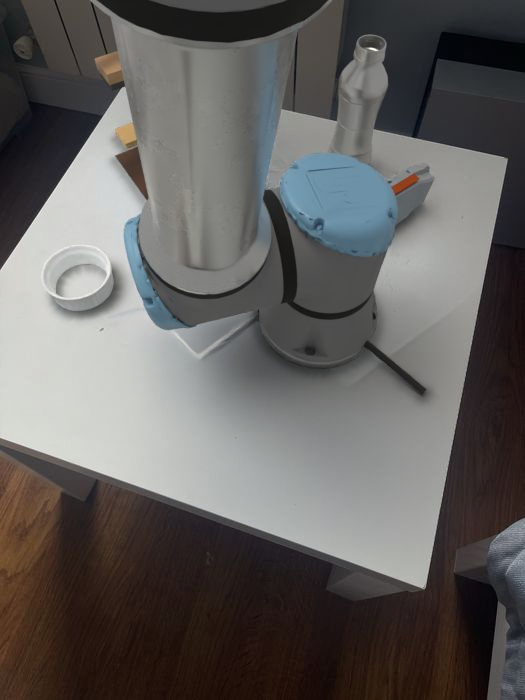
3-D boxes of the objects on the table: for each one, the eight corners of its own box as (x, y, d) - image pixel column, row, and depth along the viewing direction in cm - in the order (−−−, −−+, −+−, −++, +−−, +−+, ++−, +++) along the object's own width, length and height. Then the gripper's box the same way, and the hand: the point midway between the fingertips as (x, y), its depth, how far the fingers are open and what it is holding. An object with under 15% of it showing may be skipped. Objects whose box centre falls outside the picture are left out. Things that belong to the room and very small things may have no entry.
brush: (192, 64, 74) (182, -29, 64) (111, 92, 70) (88, -1, 60) (178, 49, 75) (167, -44, 65) (98, 76, 72) (74, -17, 62)
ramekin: (51, 323, 70) (40, 304, 66) (50, 268, 74) (40, 248, 70) (120, 312, 71) (113, 293, 67) (116, 259, 75) (109, 239, 71)
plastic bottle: (373, 179, 83) (406, 55, 65) (332, 186, 82) (354, 62, 65) (360, 150, 86) (388, 24, 68) (320, 157, 85) (338, 31, 68)
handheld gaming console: (412, 195, 82) (427, 153, 75) (426, 207, 80) (443, 165, 73) (341, 239, 77) (350, 199, 70) (355, 252, 76) (366, 213, 69)
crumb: (150, 145, 86) (148, 134, 84) (128, 154, 85) (125, 144, 83) (139, 130, 87) (137, 120, 86) (117, 139, 86) (114, 128, 84)
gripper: (25, -225, 52) (90, 24, 72) (93, -167, 45) (142, 88, 66) (98, -237, 54) (140, 8, 74) (172, -184, 47) (196, 68, 68)
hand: (141, 45), depth 70 cm, fingers closed on brush, 3 cm apart
